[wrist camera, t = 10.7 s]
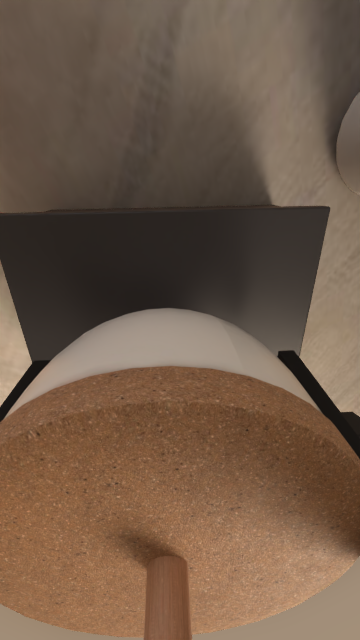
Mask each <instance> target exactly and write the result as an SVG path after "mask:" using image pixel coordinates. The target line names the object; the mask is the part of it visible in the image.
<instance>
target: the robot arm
mask: <svg viewBox="0 0 360 640" xmlns="http://www.w3.org/2000/svg"><path fill="white" fill-rule="evenodd" d="M277 357H278V358H279V359H280V360H281V362H282V363H283V364H284V365H285V366H286V367H287V368H288V369H289V370H290V371H291V372H292V373H293V375H294V376H295V377H296V378H297V380H298V381H299V382H300V384H301V385H302V386H303V388H304V389H305V390H306V392H307V393H308V394H309V396H310V397H311V398H312V400H313V401H314V402H315V404H316V405H317V406H318V408H319V409H320V411H321V412H322V414H323V415H324V416H325V417H327V418H328V419H329V420H330V421H331V422H332V423H333V424H334V425H335V427H336V428H337V429H338V430H339V432H340V433H341V434H342V436H343V437H344V438H345V440H346V441H347V442H348V444H349V445H350V446H351V448H352V449H353V450H354V452H355V453H356V455H357V456H358V457H359V459H360V417H359V416H357V415H356V414H355V413H353V412H340V411H339V410H338V408H337V407H336V406H335V404H334V403H333V402H332V400H331V399H330V398H329V396H328V395H327V394H326V392H325V391H324V390H323V388H322V387H321V386H320V384H319V383H318V382H317V380H316V379H315V378H314V376H313V375H312V374H311V372H310V371H309V370H308V368H307V367H306V366H305V364H304V363H303V362H302V360H301V359H300V358H299V356H298V355H297V354H296V352H295V351H294V350H289V351H278V356H277ZM50 361H51V360H37V361H34V362H33V363H32V364H31V366H30V367H29V368H28V370H27V371H26V372H25V374H24V375H23V377H22V378H21V379H20V381H19V382H18V383H17V385H16V386H15V387H14V389H13V390H12V392H11V393H10V394H9V396H8V397H7V398H6V400H5V401H4V402H3V404H2V405H1V407H0V422H1V421H3V419H4V418H5V416H6V415H7V414H8V412H9V411H10V409H11V408H12V407H13V405H14V404H15V403H16V401H17V400H18V399H19V397H20V396H21V395H22V393H23V392H24V391H25V390H26V388H27V387H28V386H29V385H30V384H31V382H32V381H33V380H34V379H35V378H36V377H37V375H38V374H39V373H40V372H41V371H42V370H43V369H44V368H45V367H46V366H47V365H48V364H49V363H50Z"/></svg>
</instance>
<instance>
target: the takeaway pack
mask: <svg viewBox="0 0 360 640" xmlns="http://www.w3.org/2000/svg"><path fill="white" fill-rule="evenodd" d="M329 212H330V207H327V206H289V207H280V206H275V205H251V206H207V207H163V208H119V209H75V210H50V211H46V212H28V213H0V260H1V264H2V267H3V270H4V273H5V277H6V280H7V283H8V286H9V290H10V293H11V296H12V299H13V302H14V306H15V309H16V312H17V315H18V319H19V322H20V325H21V328H22V331H23V335H24V338H25V341H26V344H27V348H28V351H29V354H30V357H31V360H32V363H33V362H34V361H37V360H52V359H53V358H54V357H55V356H56V355H58V354H59V353H60V352H61V351H63V350H64V349H65V348H66V347H68V346H69V345H70V344H71V343H73V342H74V341H75V340H76V339H78V338H79V337H80V336H82V335H83V334H84V333H86V332H87V331H89V330H91V329H93V328H95V327H96V326H98V325H100V324H102V323H104V322H106V321H109V320H112V319H115V318H117V317H120V316H123V315H126V314H129V313H133V312H138V311H143V310H148V309H161V308H174V309H186V310H192V311H196V312H200V313H205V314H209V315H212V316H214V317H217V318H219V319H222V320H224V321H227V322H229V323H232V324H234V325H235V326H237V327H239V328H240V329H242V330H244V331H245V332H247V333H249V334H250V335H252V336H253V337H254V338H255V339H257V340H258V341H259V342H261V343H262V344H263V345H264V346H265V347H266V348H268V349H269V350H270V351H271V352H272V353H273V354H274V355H276V356H278V351H289V350H294V351H295V352H296V354H297V355H298V356H300V351H301V346H302V341H303V336H304V332H305V327H306V322H307V317H308V312H309V308H310V303H311V298H312V293H313V289H314V284H315V279H316V274H317V269H318V265H319V260H320V255H321V250H322V245H323V241H324V236H325V231H326V226H327V221H328V217H329Z"/></svg>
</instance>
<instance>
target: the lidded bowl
mask: <svg viewBox="0 0 360 640" xmlns="http://www.w3.org/2000/svg"><path fill="white" fill-rule="evenodd" d="M359 556H360V459H359V457H358V456H357V455H356V453H355V452H354V450H353V449H352V448H351V446H350V445H349V444H348V442H347V441H346V440H345V438H344V437H343V436H342V434H341V433H340V432H339V430H338V429H337V428H336V427H335V425H334V424H333V423H332V422H331V421H330V420H329V419H328V418H327V417H325V416H324V415H323V414H322V412H321V411H320V409H319V408H318V406H317V405H316V404H315V402H314V401H313V400H312V398H311V397H310V396H309V394H308V393H307V392H306V390H305V389H304V388H303V386H302V385H301V384H300V382H299V381H298V380H297V378H296V377H295V376H294V375H293V373H292V372H291V371H290V370H289V369H288V368H287V367H286V366H285V365H284V364H283V363H282V362H281V360H280V359H279V358H278V357H277V356H276V355H274V354H273V353H272V352H271V351H270V350H269V349H268V348H266V347H265V346H264V345H263V344H262V343H261V342H259V341H258V340H257V339H255V338H254V337H253V336H252V335H250V334H249V333H247V332H245V331H244V330H242V329H240V328H239V327H237V326H235V325H234V324H232V323H229V322H227V321H224V320H222V319H219V318H217V317H214V316H212V315H209V314H205V313H200V312H196V311H192V310H186V309H174V308H161V309H148V310H143V311H138V312H133V313H129V314H126V315H123V316H120V317H117V318H115V319H112V320H109V321H106V322H104V323H102V324H100V325H98V326H96V327H95V328H93V329H91V330H89V331H87V332H86V333H84V334H83V335H82V336H80V337H79V338H78V339H76V340H75V341H74V342H73V343H71V344H70V345H69V346H68V347H66V348H65V349H64V350H63V351H61V352H60V353H59V354H58V355H56V356H55V357H54V358H53V359H52V360H51V361H50V363H49V364H48V365H47V366H46V367H45V368H44V369H43V370H42V371H41V372H40V373H39V374H38V375H37V377H36V378H35V379H34V380H33V381H32V382H31V384H30V385H29V386H28V387H27V388H26V390H25V391H24V392H23V393H22V395H21V396H20V397H19V399H18V400H17V401H16V403H15V404H14V405H13V407H12V408H11V409H10V411H9V412H8V414H7V415H6V416H5V418H4V419H3V421H1V422H0V604H2V605H4V606H6V607H8V608H10V609H12V610H14V611H16V612H18V613H20V614H22V615H24V616H26V617H29V618H32V619H35V620H38V621H41V622H44V623H47V624H51V625H55V626H58V627H62V628H65V629H69V630H74V631H80V632H86V633H92V634H100V635H109V636H117V637H144V640H192V635H193V634H201V633H209V632H215V631H219V630H224V629H228V628H233V627H237V626H241V625H245V624H248V623H252V622H256V621H259V620H261V619H265V618H267V617H270V616H272V615H275V614H278V613H280V612H282V611H285V610H287V609H290V608H292V607H294V606H296V605H299V604H301V603H302V602H304V601H306V600H307V599H309V598H311V597H312V596H314V595H316V594H317V593H318V592H320V591H322V590H323V589H325V588H326V587H328V586H329V585H330V584H332V583H333V582H335V581H336V580H337V579H338V578H339V577H340V576H342V575H343V574H344V573H345V572H346V571H347V570H348V569H349V568H350V567H351V566H352V565H353V563H354V562H355V561H356V560H357V558H358V557H359Z"/></svg>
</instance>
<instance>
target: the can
mask: <svg viewBox="0 0 360 640" xmlns="http://www.w3.org/2000/svg"><path fill="white" fill-rule="evenodd" d="M336 162H337V165H338V168H339V172H340V175H341V178H342V180H343V181H344V182H345V184H346V185H347V186H348V187H349V189H350V190H351V191H352V192H354V193H356V194H358V195H360V92H359V93H358V94H357V95H356V96H355V98H354V100H353V102H352V103H351V105H350V107H349V109H348V111H347V112H346V114H345V116H344V118H343V120H342V124H341V128H340V131H339V135H338V138H337V158H336Z"/></svg>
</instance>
